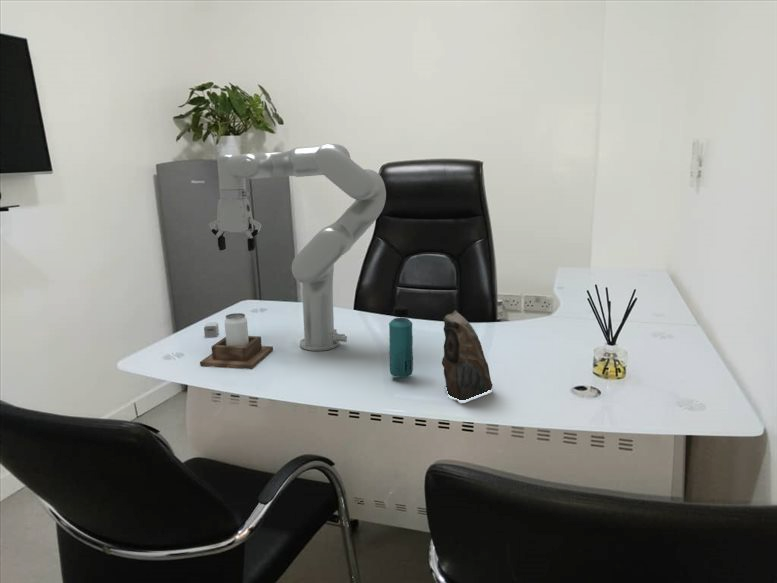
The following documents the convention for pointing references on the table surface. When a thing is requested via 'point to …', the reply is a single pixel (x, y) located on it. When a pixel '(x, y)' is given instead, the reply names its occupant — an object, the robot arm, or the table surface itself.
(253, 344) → the holder
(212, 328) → the usb wall charger
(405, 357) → the beverage bottle
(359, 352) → the table surface
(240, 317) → the can
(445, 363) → the owl
